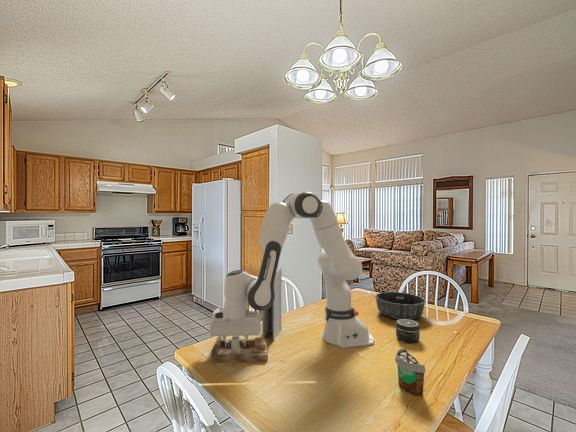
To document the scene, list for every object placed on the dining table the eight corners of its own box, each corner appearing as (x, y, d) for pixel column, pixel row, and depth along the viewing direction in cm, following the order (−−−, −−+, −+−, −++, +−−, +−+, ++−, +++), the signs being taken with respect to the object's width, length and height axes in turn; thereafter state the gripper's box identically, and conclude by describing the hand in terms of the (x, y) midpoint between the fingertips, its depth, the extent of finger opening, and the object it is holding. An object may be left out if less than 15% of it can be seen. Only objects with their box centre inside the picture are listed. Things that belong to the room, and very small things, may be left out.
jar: (423, 339, 130) (423, 322, 130) (415, 346, 122) (415, 328, 122) (400, 333, 137) (401, 316, 136) (392, 339, 129) (392, 322, 129)
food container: (388, 376, 100) (388, 348, 100) (405, 376, 100) (405, 347, 100) (406, 399, 87) (406, 367, 87) (425, 398, 88) (425, 366, 88)
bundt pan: (383, 304, 179) (383, 288, 179) (430, 313, 164) (430, 295, 164) (368, 317, 158) (368, 298, 158) (420, 328, 142) (420, 308, 142)
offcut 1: (264, 342, 120) (264, 337, 120) (265, 349, 113) (265, 344, 113) (254, 343, 119) (254, 338, 119) (255, 350, 113) (255, 345, 113)
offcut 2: (266, 347, 120) (266, 342, 120) (265, 357, 112) (265, 351, 112) (255, 348, 120) (255, 342, 120) (254, 357, 112) (254, 352, 112)
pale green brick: (239, 349, 118) (239, 333, 118) (237, 356, 112) (237, 340, 112) (233, 349, 118) (233, 333, 118) (231, 356, 112) (231, 340, 112)
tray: (268, 345, 123) (268, 334, 123) (267, 362, 109) (267, 349, 109) (218, 346, 122) (218, 335, 122) (211, 364, 108) (211, 350, 108)
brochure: (274, 342, 126) (274, 274, 126) (262, 341, 127) (262, 273, 127) (281, 329, 140) (281, 268, 140) (270, 328, 141) (270, 267, 141)
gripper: (261, 308, 119) (261, 341, 119) (211, 309, 118) (211, 342, 118) (261, 313, 112) (261, 349, 113) (208, 314, 112) (208, 350, 112)
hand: (235, 345), depth 115 cm, fingers open, 5 cm apart
